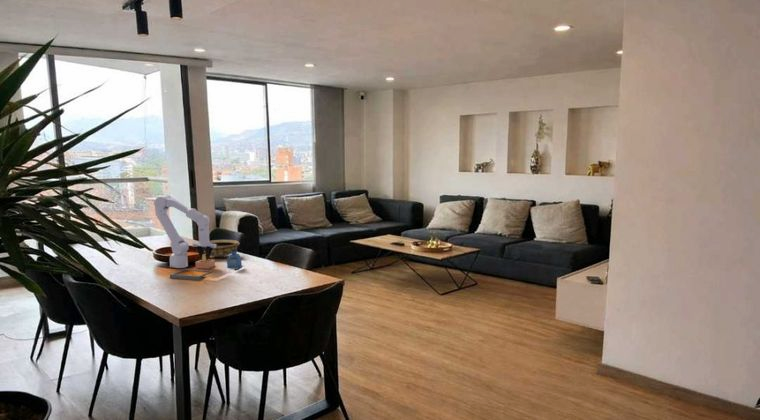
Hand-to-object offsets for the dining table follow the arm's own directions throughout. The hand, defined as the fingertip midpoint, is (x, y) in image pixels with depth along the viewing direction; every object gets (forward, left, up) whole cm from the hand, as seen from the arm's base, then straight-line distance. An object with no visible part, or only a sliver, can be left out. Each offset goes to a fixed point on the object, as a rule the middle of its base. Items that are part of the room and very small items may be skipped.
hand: (205, 259), depth 289 cm
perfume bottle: (+16, +5, -6) cm, 18 cm away
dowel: (0, 0, -4) cm, 4 cm away
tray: (+2, -16, -6) cm, 17 cm away
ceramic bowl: (-9, +29, -6) cm, 31 cm away
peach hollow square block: (0, 0, -6) cm, 6 cm away
